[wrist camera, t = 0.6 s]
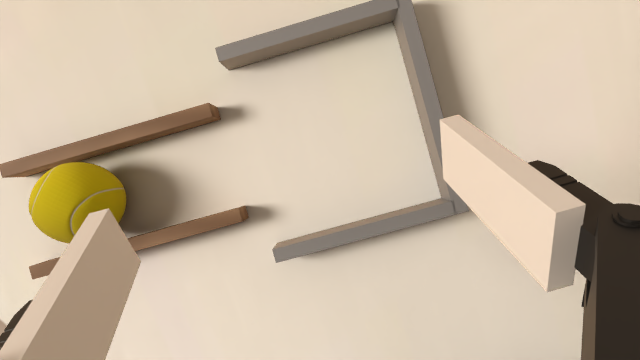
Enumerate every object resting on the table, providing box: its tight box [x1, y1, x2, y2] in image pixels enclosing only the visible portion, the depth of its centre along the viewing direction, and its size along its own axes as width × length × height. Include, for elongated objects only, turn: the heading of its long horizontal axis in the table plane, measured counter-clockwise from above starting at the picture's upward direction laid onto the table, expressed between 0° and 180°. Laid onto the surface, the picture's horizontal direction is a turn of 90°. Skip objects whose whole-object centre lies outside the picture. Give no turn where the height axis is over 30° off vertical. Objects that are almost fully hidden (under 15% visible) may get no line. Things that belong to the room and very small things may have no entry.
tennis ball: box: [29, 162, 126, 243], centre depth 34 cm, size 7×7×7 cm
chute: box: [0, 103, 249, 279], centre depth 36 cm, size 11×20×2 cm, turn 106°
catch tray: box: [215, 0, 469, 263], centre depth 35 cm, size 19×17×3 cm
